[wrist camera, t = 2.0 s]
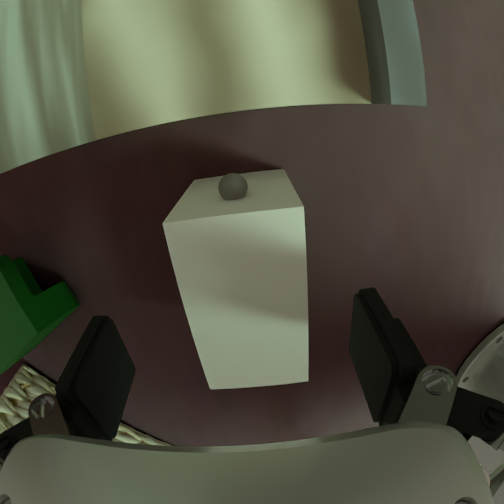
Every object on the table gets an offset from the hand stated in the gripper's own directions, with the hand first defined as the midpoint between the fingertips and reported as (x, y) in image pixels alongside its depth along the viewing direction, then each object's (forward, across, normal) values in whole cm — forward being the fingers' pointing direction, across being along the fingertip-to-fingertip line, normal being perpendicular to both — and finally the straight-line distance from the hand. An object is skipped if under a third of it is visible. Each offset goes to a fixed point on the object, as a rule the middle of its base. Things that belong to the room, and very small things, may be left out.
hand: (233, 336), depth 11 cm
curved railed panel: (+8, -1, -19) cm, 20 cm away
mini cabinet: (+8, -1, 0) cm, 8 cm away
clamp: (+9, +18, +3) cm, 20 cm away
